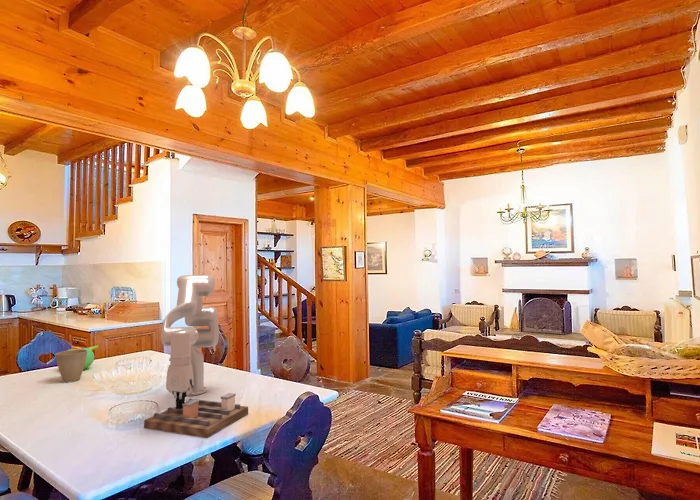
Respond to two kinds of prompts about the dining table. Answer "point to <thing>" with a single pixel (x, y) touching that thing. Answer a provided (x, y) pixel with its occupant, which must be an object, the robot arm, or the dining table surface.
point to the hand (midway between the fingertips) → (180, 408)
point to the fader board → (196, 419)
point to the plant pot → (71, 364)
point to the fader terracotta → (190, 408)
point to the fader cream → (228, 401)
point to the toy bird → (89, 354)
